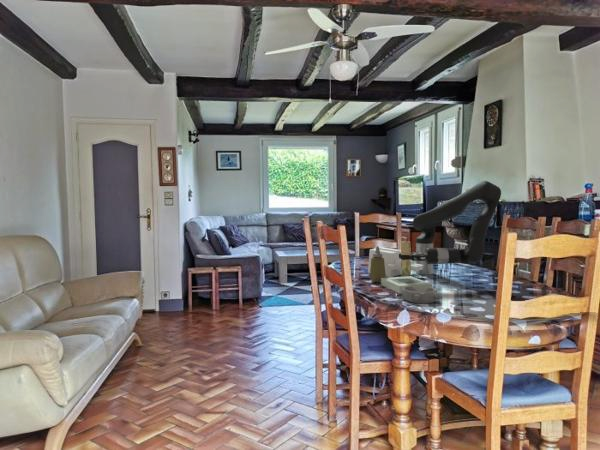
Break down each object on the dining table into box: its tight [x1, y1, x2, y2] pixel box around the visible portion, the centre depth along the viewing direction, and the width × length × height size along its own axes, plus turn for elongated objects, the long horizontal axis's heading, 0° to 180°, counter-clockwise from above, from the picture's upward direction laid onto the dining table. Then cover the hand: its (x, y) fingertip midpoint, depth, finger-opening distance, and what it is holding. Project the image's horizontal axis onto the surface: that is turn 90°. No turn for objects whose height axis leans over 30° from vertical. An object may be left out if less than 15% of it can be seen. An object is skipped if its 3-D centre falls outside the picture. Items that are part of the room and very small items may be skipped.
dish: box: [401, 286, 439, 304], centre depth 177 cm, size 14×14×5 cm
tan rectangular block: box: [400, 240, 412, 277], centre depth 199 cm, size 4×4×16 cm
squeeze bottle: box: [369, 245, 386, 283], centre depth 217 cm, size 8×8×18 cm
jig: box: [380, 276, 433, 295], centre depth 200 cm, size 20×16×4 cm
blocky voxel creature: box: [367, 246, 424, 278], centre depth 233 cm, size 15×25×28 cm
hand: (400, 256), depth 199 cm, fingers closed on tan rectangular block, 4 cm apart
